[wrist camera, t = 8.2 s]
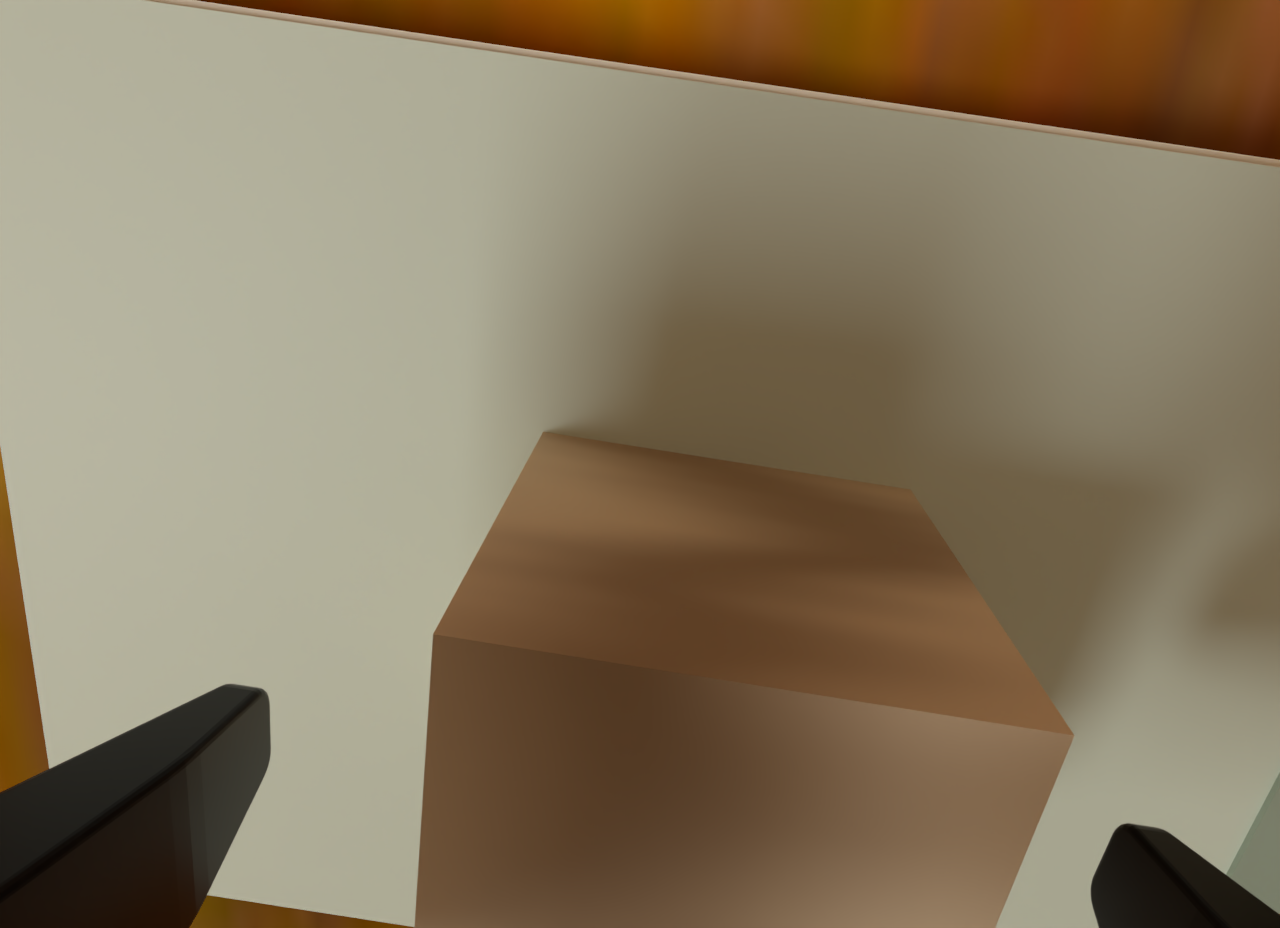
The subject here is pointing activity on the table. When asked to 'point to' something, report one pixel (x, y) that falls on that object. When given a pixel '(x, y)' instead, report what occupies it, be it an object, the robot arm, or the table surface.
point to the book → (610, 392)
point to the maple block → (723, 709)
